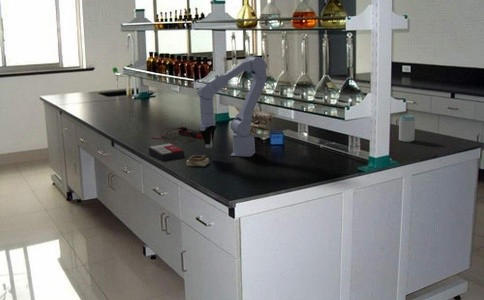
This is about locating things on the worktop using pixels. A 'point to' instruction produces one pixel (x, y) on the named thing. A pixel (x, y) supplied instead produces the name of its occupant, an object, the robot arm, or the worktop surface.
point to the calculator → (166, 152)
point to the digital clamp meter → (185, 132)
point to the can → (406, 128)
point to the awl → (210, 143)
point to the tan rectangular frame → (197, 160)
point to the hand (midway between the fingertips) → (209, 143)
